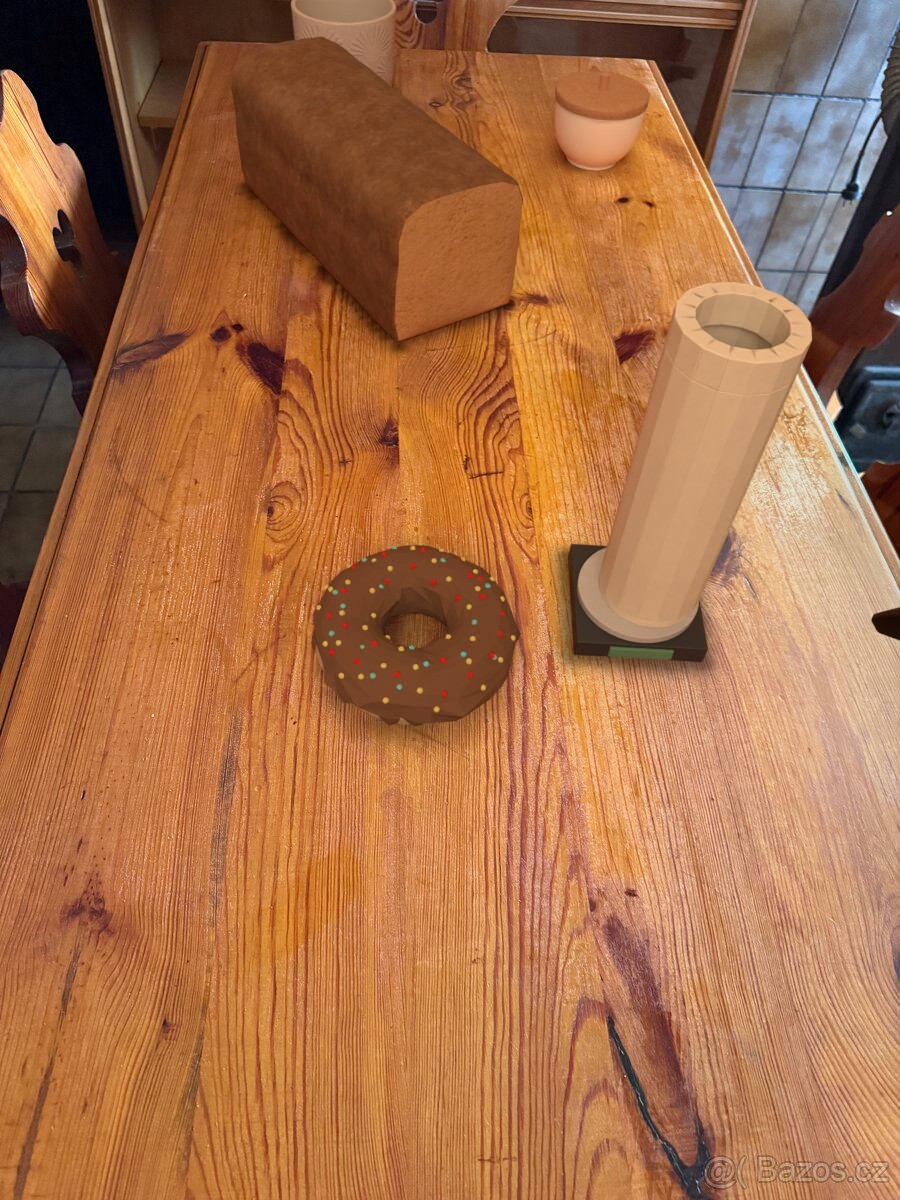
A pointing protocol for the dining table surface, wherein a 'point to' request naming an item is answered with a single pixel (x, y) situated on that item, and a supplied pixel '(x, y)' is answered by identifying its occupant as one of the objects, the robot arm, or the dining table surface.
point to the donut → (407, 674)
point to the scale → (623, 620)
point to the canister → (699, 445)
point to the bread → (375, 187)
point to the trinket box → (598, 117)
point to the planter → (352, 29)
